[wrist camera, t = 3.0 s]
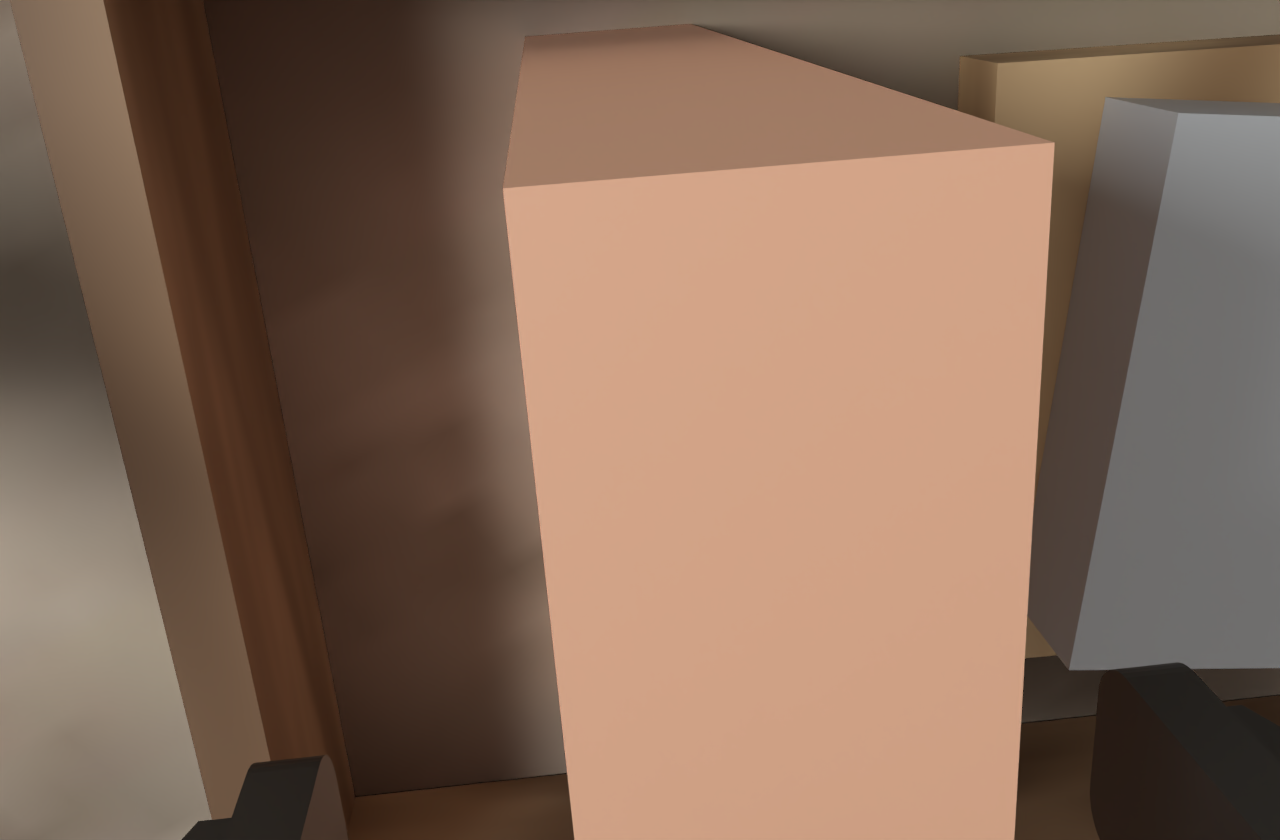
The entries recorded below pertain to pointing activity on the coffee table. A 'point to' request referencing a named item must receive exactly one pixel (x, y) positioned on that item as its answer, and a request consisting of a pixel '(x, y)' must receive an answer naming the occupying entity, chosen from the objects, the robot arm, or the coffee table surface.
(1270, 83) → the offcut bottom
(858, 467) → the salmon orange rectangular slab
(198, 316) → the wooden tray
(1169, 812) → the robot arm
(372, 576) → the coffee table surface
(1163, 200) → the offcut top
